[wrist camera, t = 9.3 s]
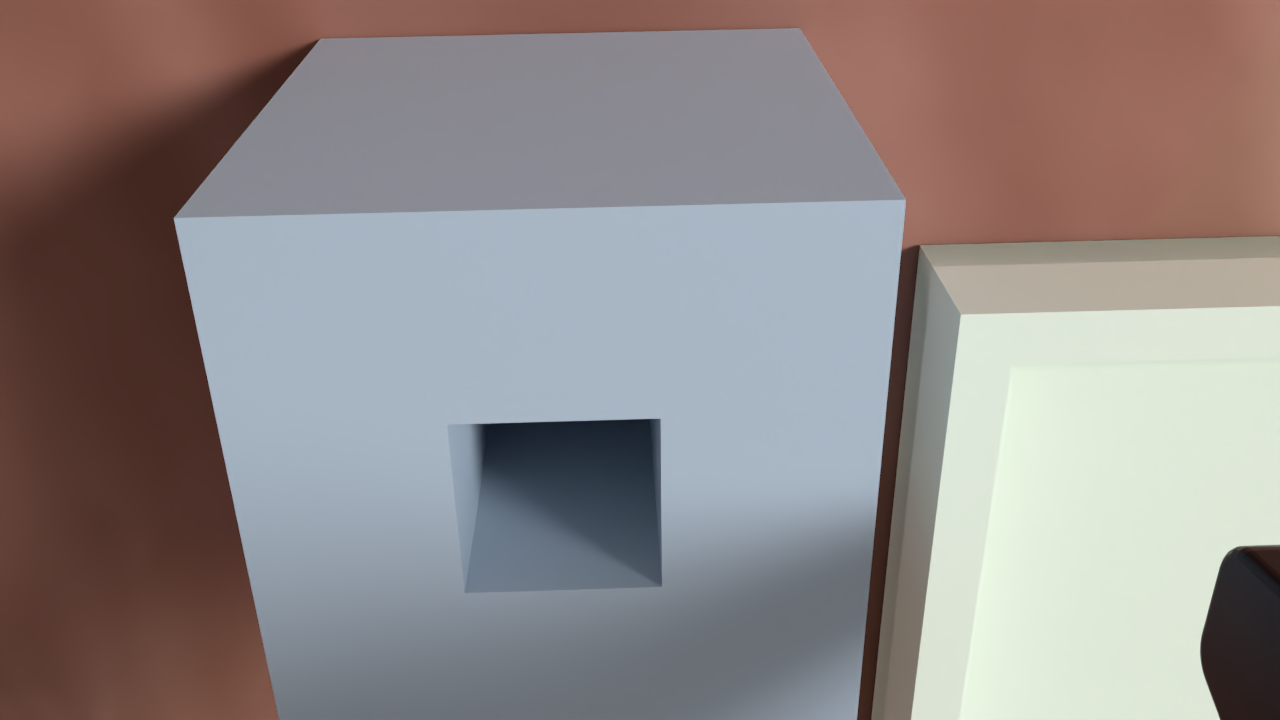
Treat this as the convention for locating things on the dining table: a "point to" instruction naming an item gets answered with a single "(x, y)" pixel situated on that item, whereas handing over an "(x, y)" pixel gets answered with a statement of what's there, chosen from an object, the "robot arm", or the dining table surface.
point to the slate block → (553, 375)
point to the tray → (1077, 474)
